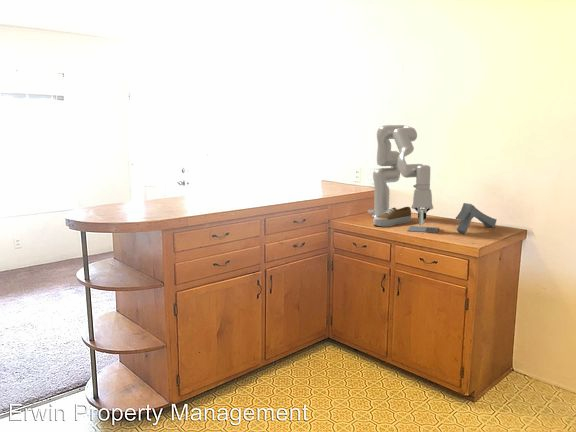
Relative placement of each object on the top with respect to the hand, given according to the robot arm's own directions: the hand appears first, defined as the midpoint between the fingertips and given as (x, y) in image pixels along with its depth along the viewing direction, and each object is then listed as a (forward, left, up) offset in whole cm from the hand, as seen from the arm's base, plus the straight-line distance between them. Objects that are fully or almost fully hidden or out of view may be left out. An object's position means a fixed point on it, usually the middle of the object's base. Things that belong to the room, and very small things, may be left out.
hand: (422, 219), depth 279 cm
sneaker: (-19, +13, -7) cm, 24 cm away
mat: (+1, 0, -6) cm, 6 cm away
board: (0, 0, -2) cm, 2 cm away
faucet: (+29, +7, -6) cm, 30 cm away
